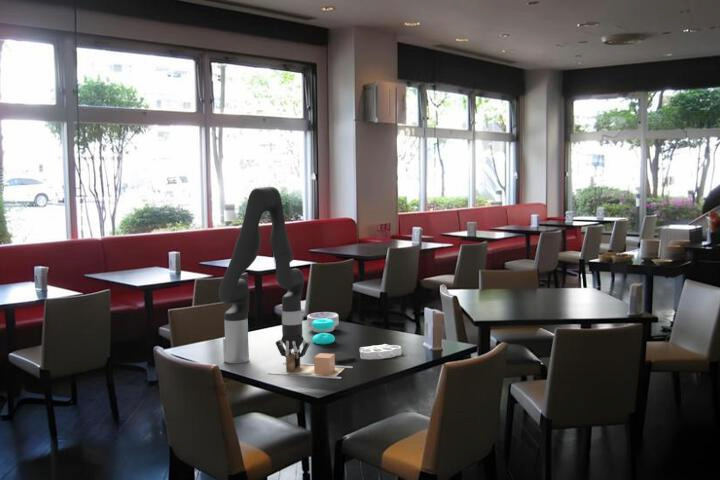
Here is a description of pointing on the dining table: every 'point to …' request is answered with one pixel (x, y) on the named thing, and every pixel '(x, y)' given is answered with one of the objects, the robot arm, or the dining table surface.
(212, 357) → the dining table surface
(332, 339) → the donuts
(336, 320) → the clear glass round bowl
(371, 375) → the dining table surface
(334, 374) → the wooden stand
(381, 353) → the white brass knuckles
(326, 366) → the block
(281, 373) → the rails
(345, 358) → the carrying case or bag
